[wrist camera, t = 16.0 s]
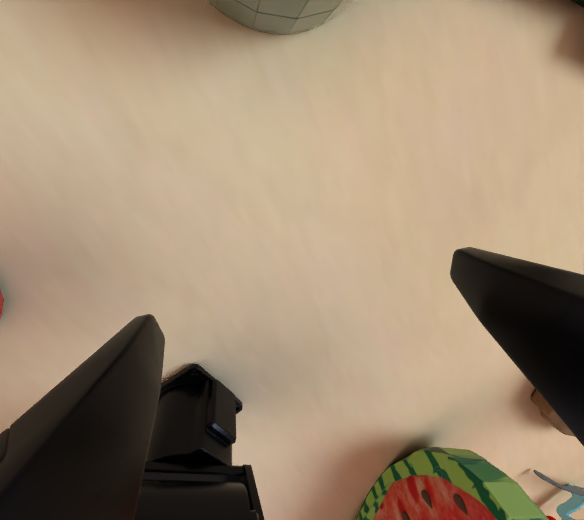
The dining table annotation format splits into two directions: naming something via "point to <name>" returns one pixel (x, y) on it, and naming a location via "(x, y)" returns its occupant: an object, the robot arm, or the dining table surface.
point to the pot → (280, 13)
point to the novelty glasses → (573, 504)
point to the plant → (550, 414)
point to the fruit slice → (447, 490)
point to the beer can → (1, 303)
